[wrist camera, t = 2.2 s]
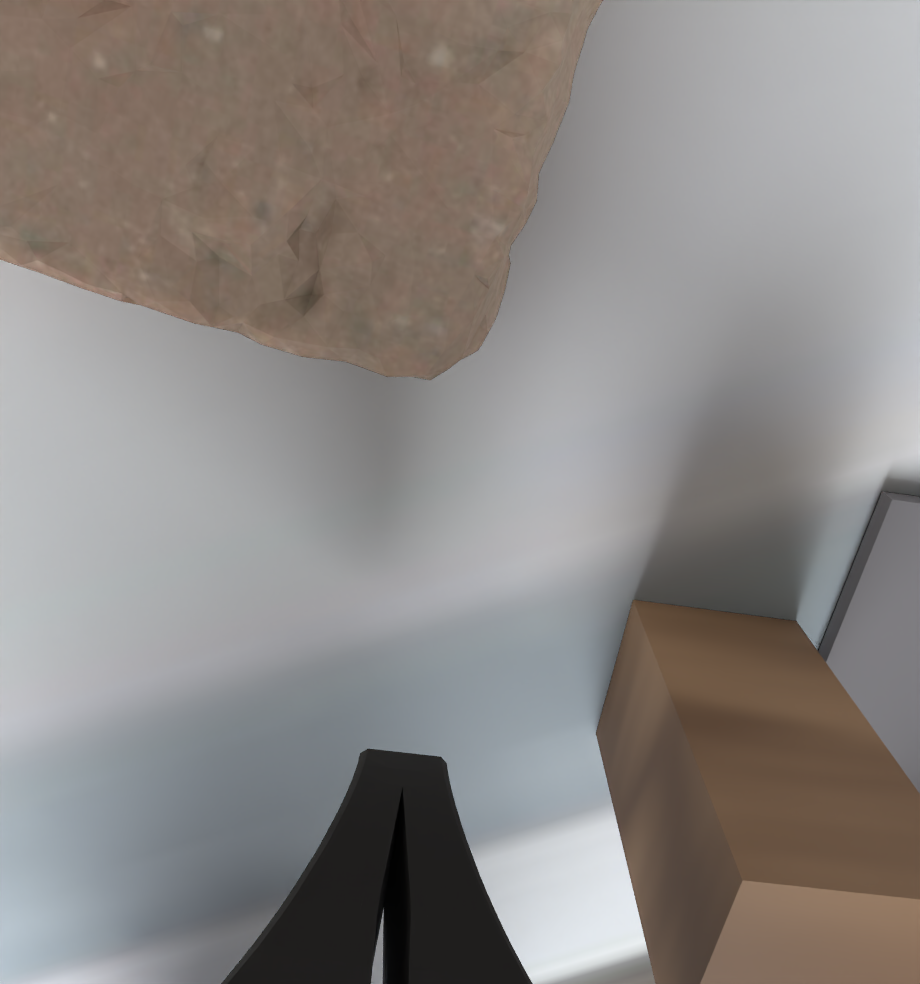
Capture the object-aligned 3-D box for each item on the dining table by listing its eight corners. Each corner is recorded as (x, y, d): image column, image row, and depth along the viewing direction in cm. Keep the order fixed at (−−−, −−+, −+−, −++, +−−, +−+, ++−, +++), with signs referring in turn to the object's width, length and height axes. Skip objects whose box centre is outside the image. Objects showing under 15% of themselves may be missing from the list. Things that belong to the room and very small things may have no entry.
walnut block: (747, 751, 18) (901, 1073, 12) (595, 733, 18) (671, 1052, 12) (796, 620, 17) (1001, 908, 11) (633, 599, 17) (742, 879, 10)
